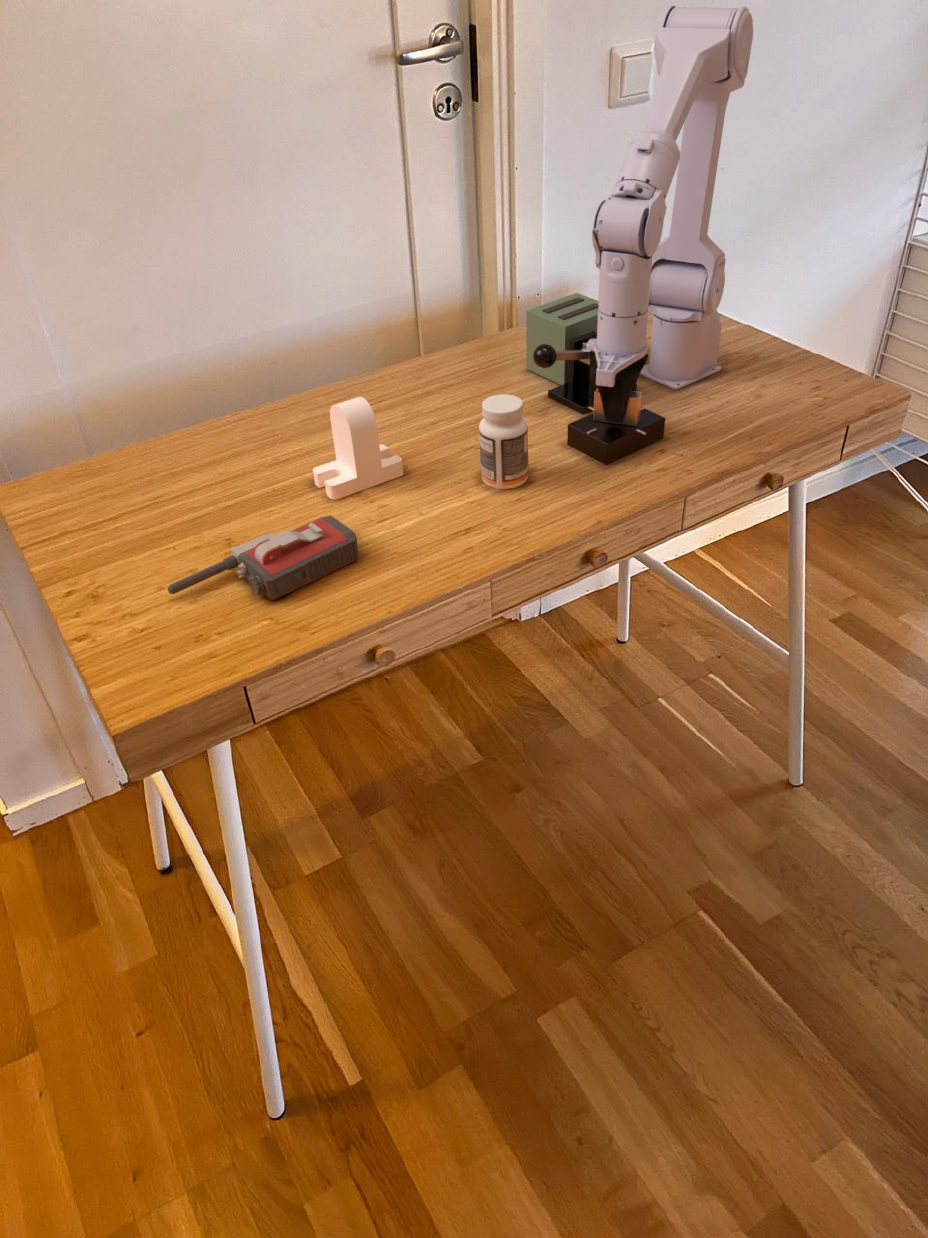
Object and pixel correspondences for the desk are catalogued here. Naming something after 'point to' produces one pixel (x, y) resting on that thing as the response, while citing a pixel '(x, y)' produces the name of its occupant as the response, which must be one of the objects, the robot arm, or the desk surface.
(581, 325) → the toaster
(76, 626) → the desk surface
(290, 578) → the walkie-talkie
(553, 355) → the lever
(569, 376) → the lever bracket
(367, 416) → the white phone stand
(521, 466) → the pill bottle
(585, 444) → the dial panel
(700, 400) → the desk surface
